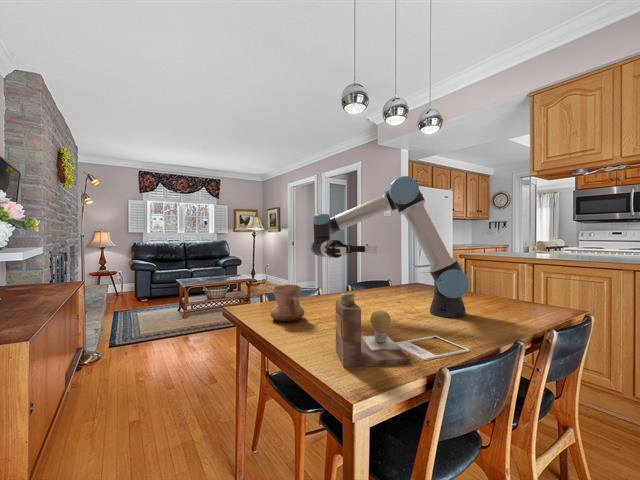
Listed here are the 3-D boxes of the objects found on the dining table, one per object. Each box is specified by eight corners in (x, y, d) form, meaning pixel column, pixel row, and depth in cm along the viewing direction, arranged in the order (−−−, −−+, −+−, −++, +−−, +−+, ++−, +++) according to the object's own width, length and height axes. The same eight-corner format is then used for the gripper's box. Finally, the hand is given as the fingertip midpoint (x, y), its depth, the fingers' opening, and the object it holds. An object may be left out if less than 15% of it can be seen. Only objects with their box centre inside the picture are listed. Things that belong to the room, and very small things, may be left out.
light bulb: (395, 342, 100) (394, 311, 99) (380, 346, 96) (380, 314, 96) (380, 337, 105) (380, 307, 105) (366, 340, 101) (366, 310, 101)
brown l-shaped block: (384, 337, 110) (384, 283, 109) (409, 363, 88) (410, 296, 88) (330, 340, 107) (329, 285, 107) (342, 367, 86) (342, 298, 85)
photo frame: (392, 342, 104) (435, 335, 111) (392, 345, 104) (435, 338, 111) (423, 358, 90) (469, 349, 97) (423, 362, 90) (469, 352, 97)
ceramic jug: (264, 317, 138) (264, 285, 137) (294, 312, 145) (294, 282, 144) (280, 328, 122) (279, 292, 122) (312, 322, 129) (312, 288, 129)
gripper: (356, 255, 141) (387, 258, 122) (306, 259, 130) (332, 262, 111) (356, 239, 141) (387, 239, 122) (306, 240, 130) (331, 241, 111)
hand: (361, 250), depth 117 cm, fingers open, 13 cm apart
